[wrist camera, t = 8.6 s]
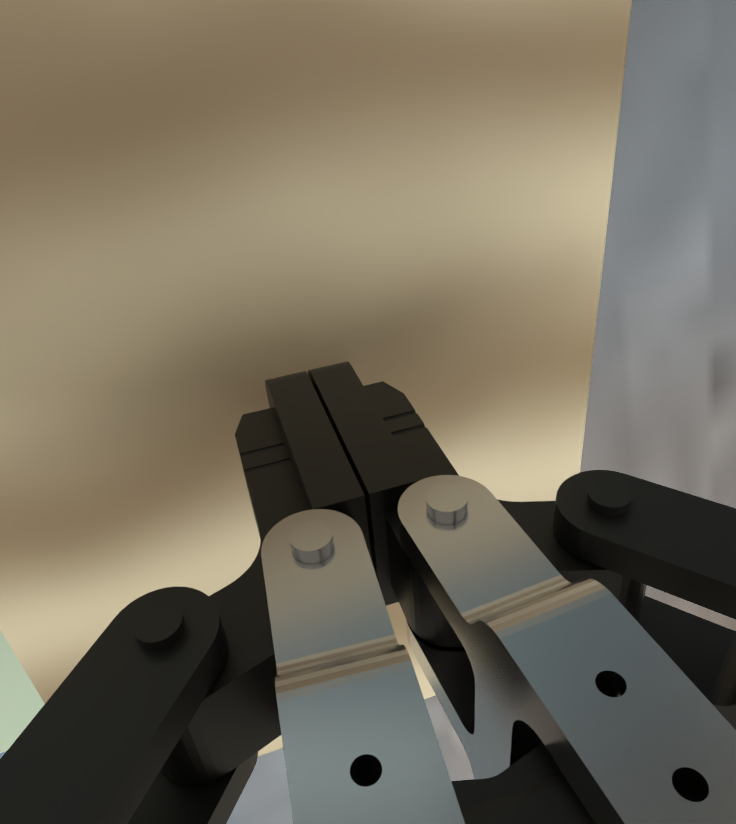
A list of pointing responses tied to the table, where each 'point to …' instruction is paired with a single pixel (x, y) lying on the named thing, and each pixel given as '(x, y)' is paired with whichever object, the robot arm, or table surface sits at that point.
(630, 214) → the table surface
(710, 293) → the table surface
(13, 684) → the mat
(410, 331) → the deck
